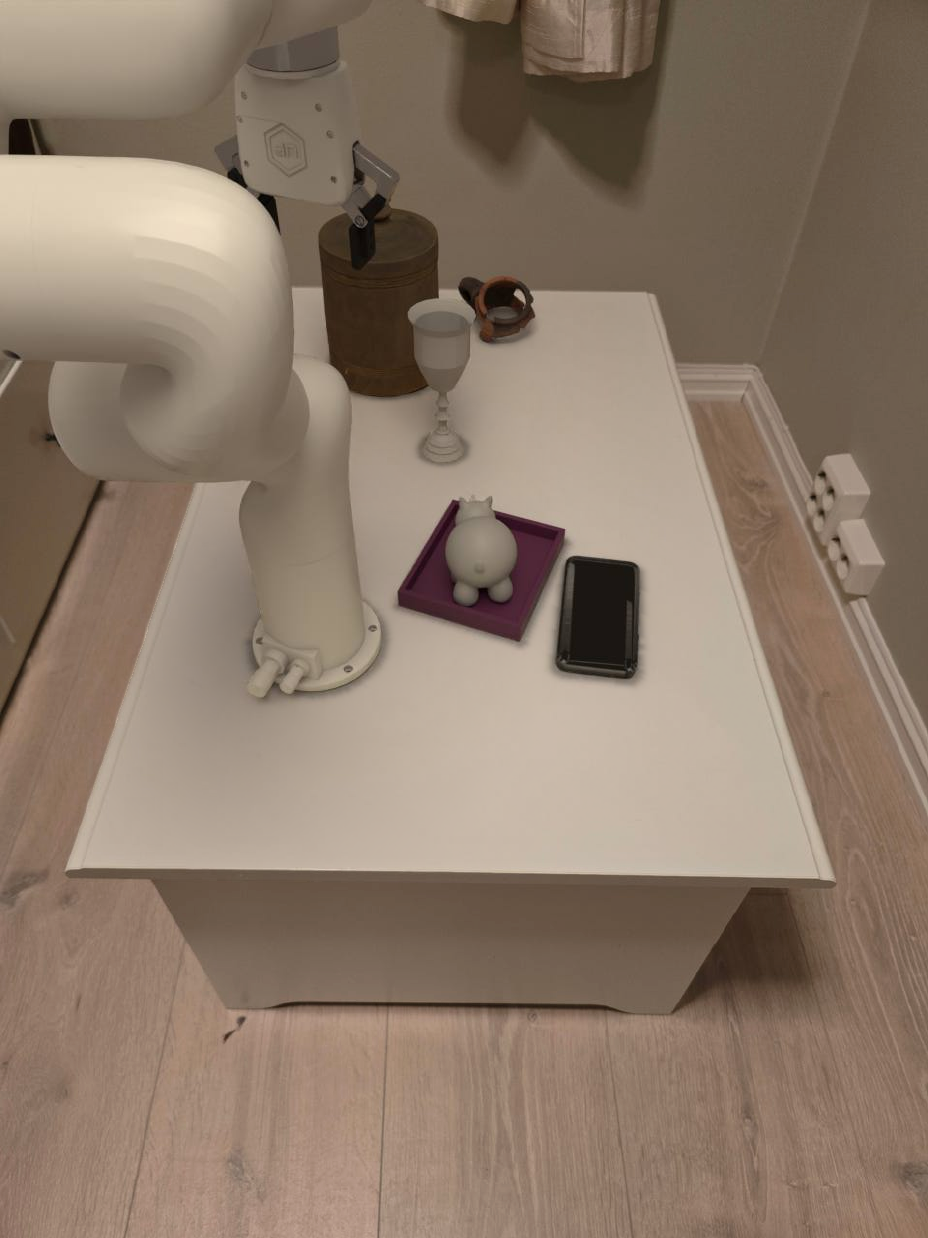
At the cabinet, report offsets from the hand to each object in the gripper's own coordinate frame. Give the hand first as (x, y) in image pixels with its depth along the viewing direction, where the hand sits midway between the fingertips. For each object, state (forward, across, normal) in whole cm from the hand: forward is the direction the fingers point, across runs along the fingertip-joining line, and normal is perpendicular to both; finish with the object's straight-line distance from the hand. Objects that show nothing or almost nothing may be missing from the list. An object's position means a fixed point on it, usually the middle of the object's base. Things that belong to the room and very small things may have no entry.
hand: (315, 253), depth 83 cm
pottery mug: (+28, +4, +40) cm, 50 cm away
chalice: (+28, +8, +11) cm, 32 cm away
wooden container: (+28, -6, +25) cm, 38 cm away
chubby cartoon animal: (+28, +20, -7) cm, 35 cm away
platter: (+28, +20, -7) cm, 35 cm away
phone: (+28, +33, -9) cm, 44 cm away
